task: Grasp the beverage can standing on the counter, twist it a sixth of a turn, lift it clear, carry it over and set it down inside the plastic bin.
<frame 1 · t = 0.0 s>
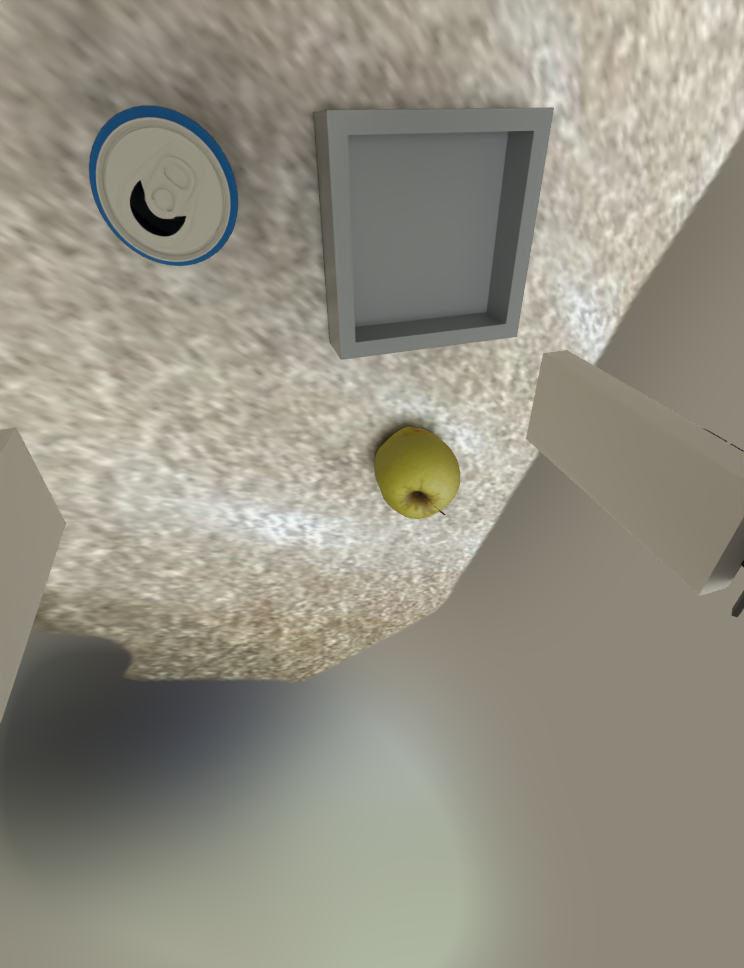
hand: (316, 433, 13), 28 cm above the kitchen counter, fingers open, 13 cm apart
bin: (418, 234, 37), on the kitchen counter
beverage can: (174, 176, 31), on the kitchen counter
apple: (400, 449, 49), on the kitchen counter
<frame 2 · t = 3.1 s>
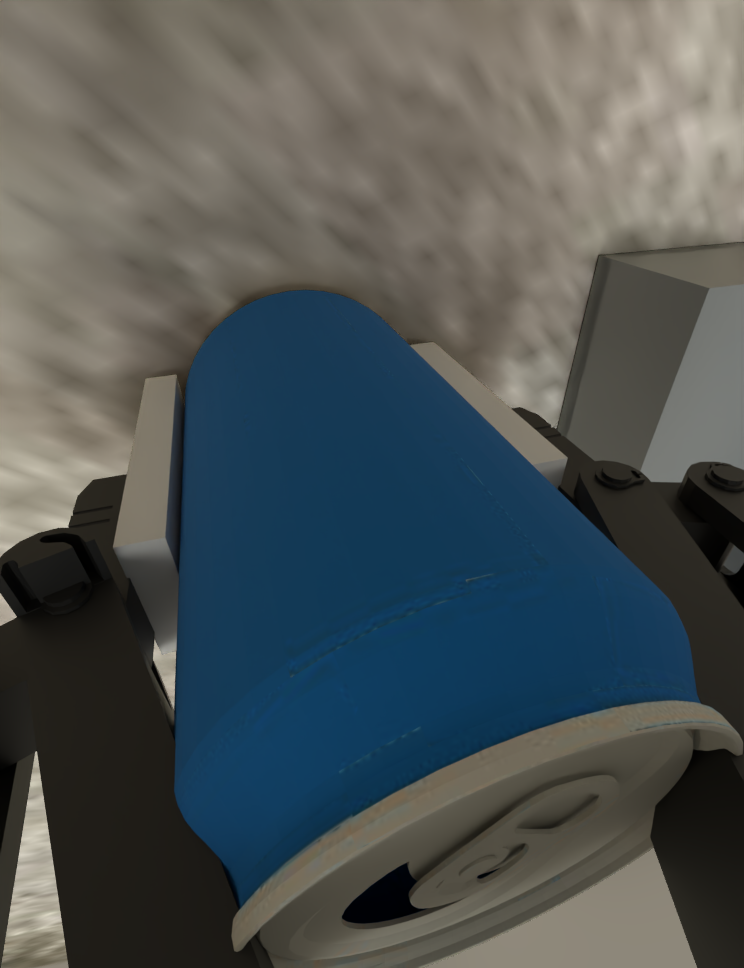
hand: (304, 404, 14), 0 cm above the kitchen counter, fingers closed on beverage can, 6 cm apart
bin: (703, 433, 21), on the kitchen counter
beverage can: (300, 394, 14), on the kitchen counter, touching gripper
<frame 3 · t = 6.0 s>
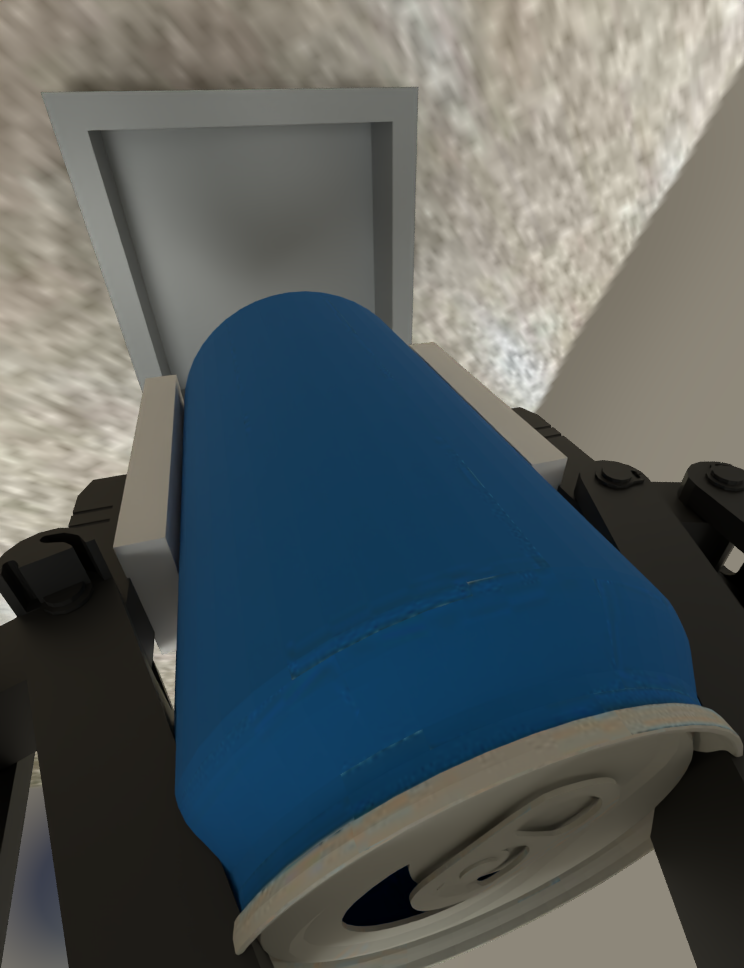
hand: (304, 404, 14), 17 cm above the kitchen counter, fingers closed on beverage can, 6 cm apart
bin: (263, 266, 27), on the kitchen counter
beverage can: (300, 395, 14), point 17 cm above the kitchen counter, touching gripper
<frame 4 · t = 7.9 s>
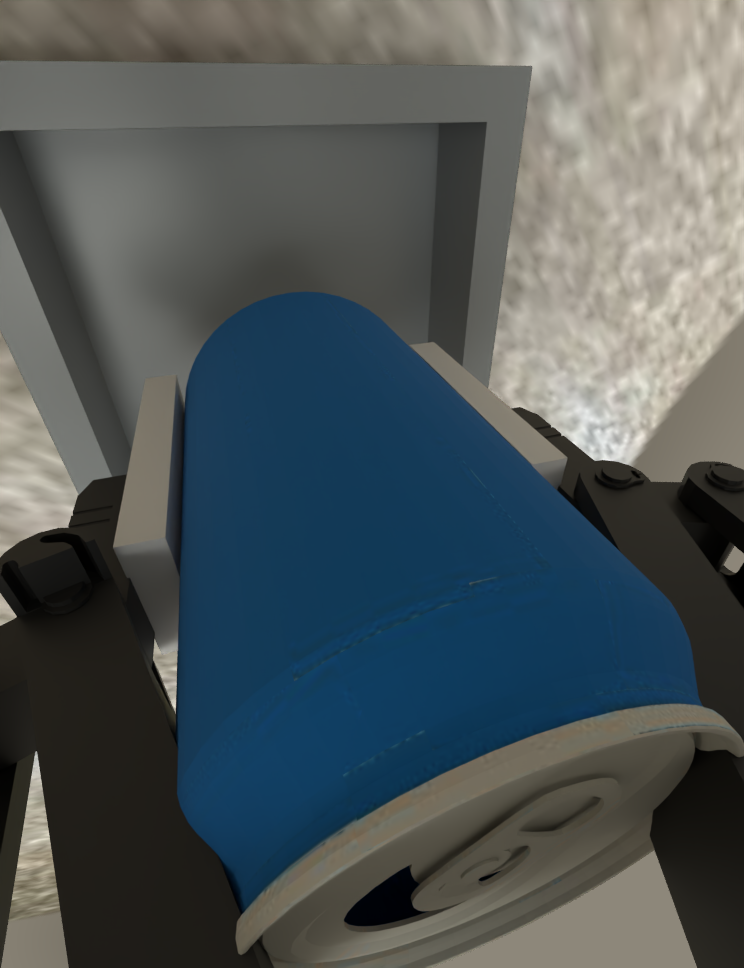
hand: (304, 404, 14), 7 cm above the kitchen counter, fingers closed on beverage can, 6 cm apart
bin: (272, 328, 19), on the kitchen counter
beverage can: (300, 395, 14), point 6 cm above the kitchen counter, touching gripper
when the fingers open (3 cm above the kitchen counter, at t = 9.0 s): beverage can drops 2 cm, resting on bin.
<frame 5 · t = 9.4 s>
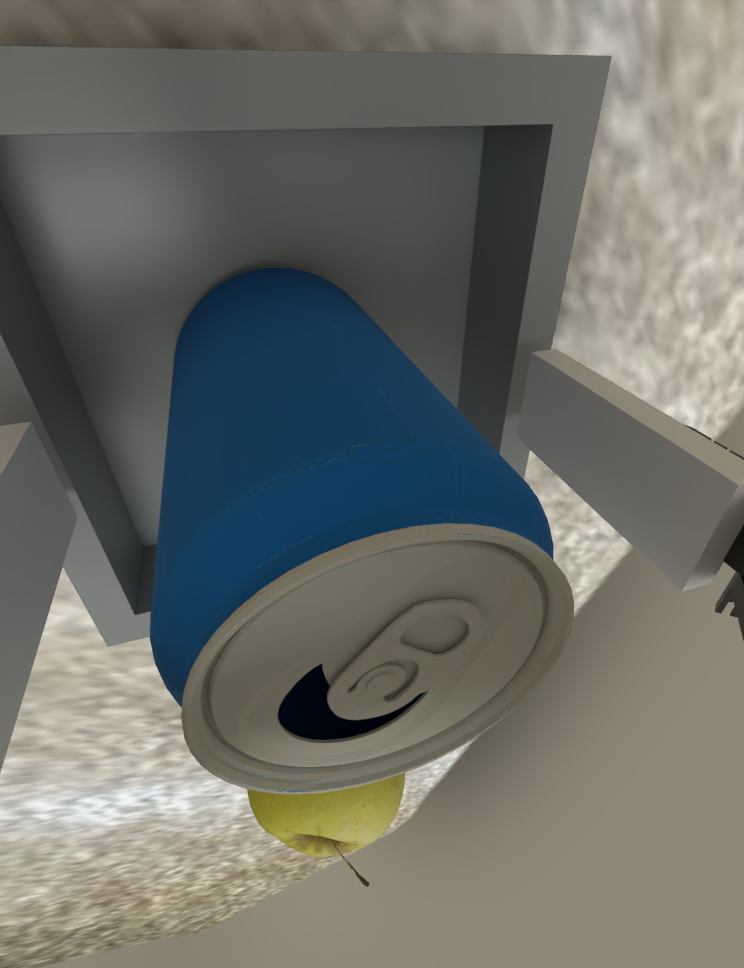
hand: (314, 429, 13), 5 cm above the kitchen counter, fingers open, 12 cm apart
bin: (286, 360, 17), on the kitchen counter
beverage can: (278, 364, 16), resting on bin
apple: (309, 682, 28), on the kitchen counter
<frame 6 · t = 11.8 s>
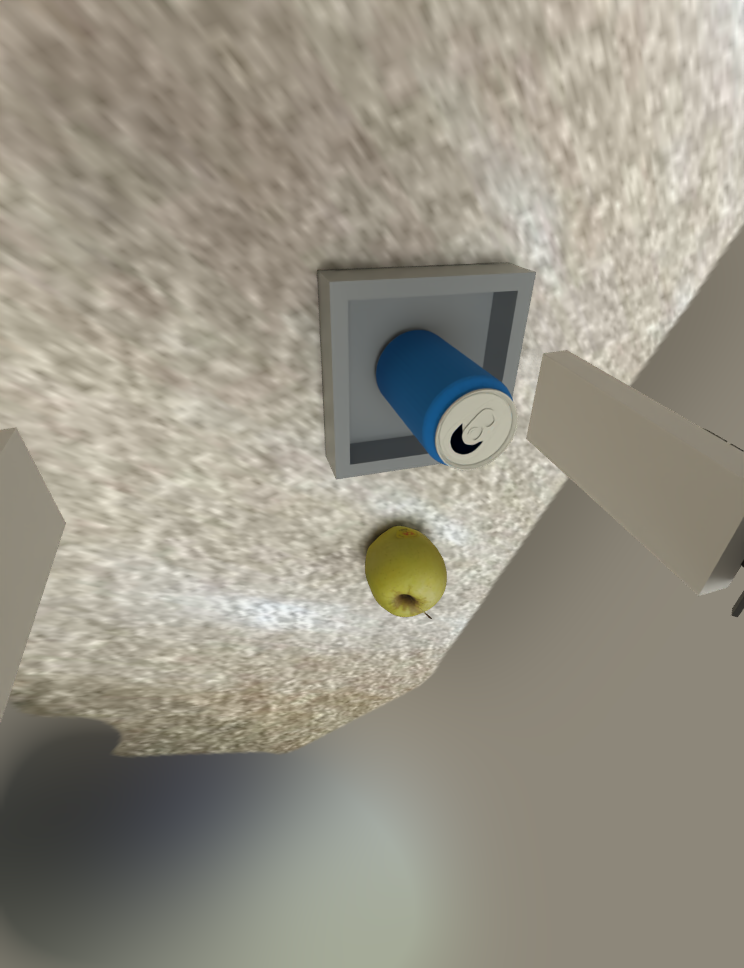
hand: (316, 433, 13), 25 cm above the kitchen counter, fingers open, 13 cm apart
bin: (411, 364, 40), on the kitchen counter
beverage can: (409, 365, 40), resting on bin
apple: (390, 543, 51), on the kitchen counter
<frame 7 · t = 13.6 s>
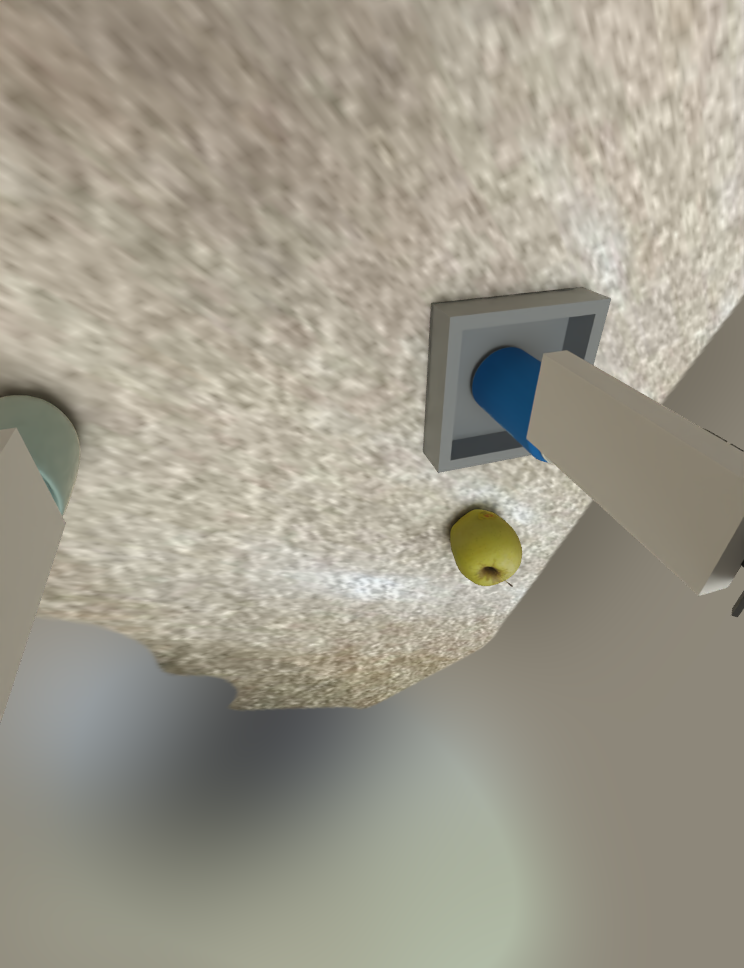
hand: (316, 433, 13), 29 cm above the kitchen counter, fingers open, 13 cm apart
bin: (498, 374, 48), on the kitchen counter
beverage can: (497, 375, 47), resting on bin
apple: (468, 524, 59), on the kitchen counter
cup: (32, 425, 38), on the kitchen counter
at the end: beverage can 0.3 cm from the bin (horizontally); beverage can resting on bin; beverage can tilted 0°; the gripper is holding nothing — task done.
